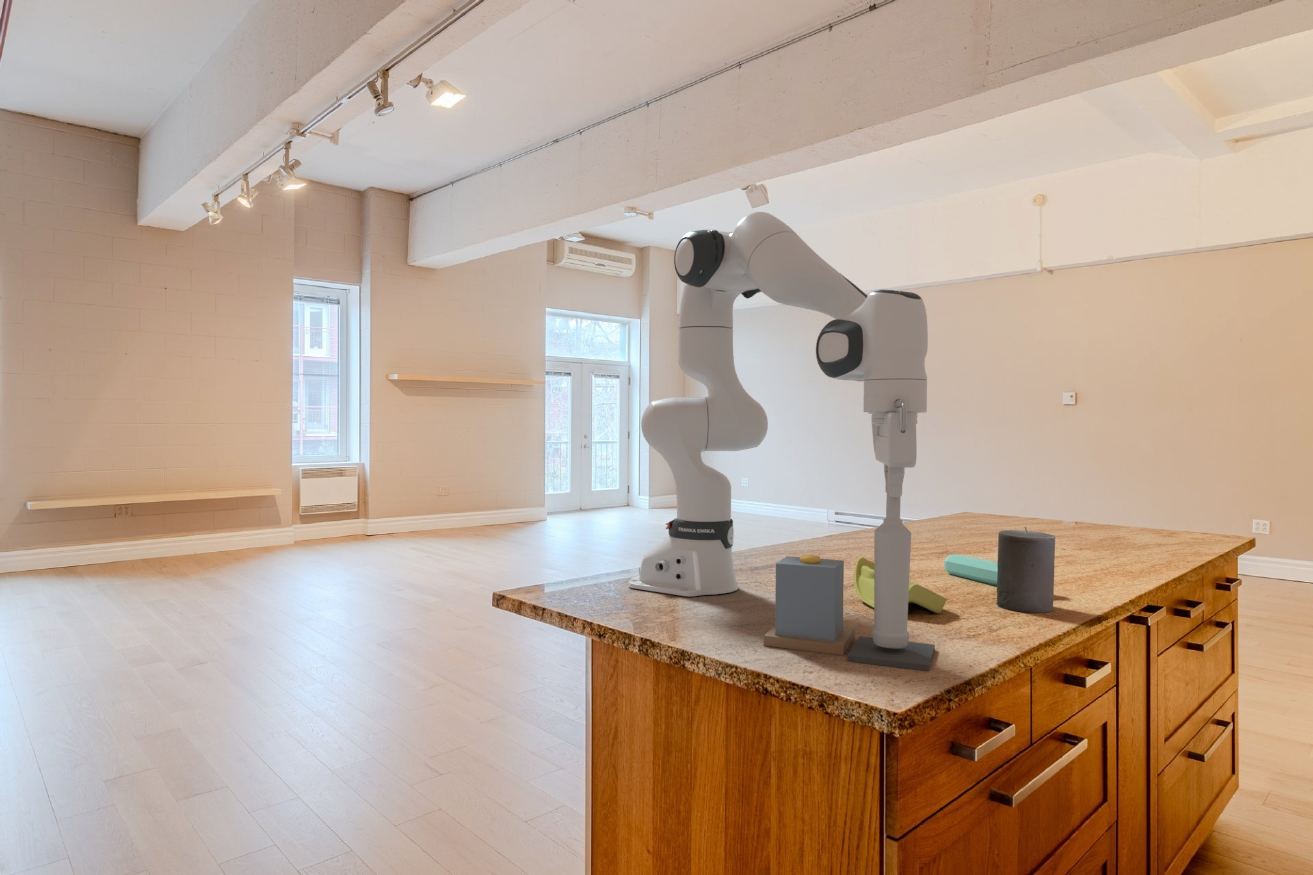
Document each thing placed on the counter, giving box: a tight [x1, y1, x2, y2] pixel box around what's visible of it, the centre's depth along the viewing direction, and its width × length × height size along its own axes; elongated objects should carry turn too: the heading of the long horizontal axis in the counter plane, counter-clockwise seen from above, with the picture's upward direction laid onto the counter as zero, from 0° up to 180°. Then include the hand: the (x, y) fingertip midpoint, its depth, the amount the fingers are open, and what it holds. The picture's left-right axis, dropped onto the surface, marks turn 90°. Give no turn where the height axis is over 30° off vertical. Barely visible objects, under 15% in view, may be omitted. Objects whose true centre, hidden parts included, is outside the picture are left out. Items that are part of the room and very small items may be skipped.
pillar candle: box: [995, 526, 1056, 614], centre depth 145 cm, size 10×10×15 cm
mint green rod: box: [943, 553, 998, 587], centre depth 167 cm, size 6×6×25 cm
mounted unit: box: [763, 554, 856, 656], centre depth 121 cm, size 12×10×13 cm
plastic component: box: [853, 556, 948, 614], centre depth 147 cm, size 20×7×10 cm
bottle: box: [871, 473, 912, 648], centre depth 114 cm, size 5×5×25 cm
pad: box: [847, 635, 936, 672], centre depth 114 cm, size 11×11×1 cm
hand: (893, 495), depth 114 cm, fingers closed on bottle, 2 cm apart
